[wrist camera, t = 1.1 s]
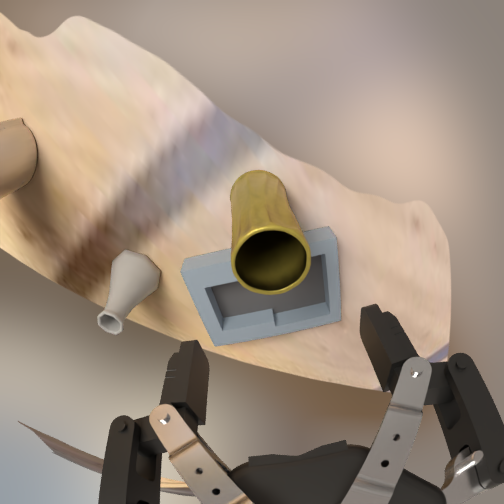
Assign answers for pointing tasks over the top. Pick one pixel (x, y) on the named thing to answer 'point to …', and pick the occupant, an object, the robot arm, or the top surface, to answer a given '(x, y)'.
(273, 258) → the vase
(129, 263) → the flask
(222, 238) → the top surface
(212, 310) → the keyhole board
